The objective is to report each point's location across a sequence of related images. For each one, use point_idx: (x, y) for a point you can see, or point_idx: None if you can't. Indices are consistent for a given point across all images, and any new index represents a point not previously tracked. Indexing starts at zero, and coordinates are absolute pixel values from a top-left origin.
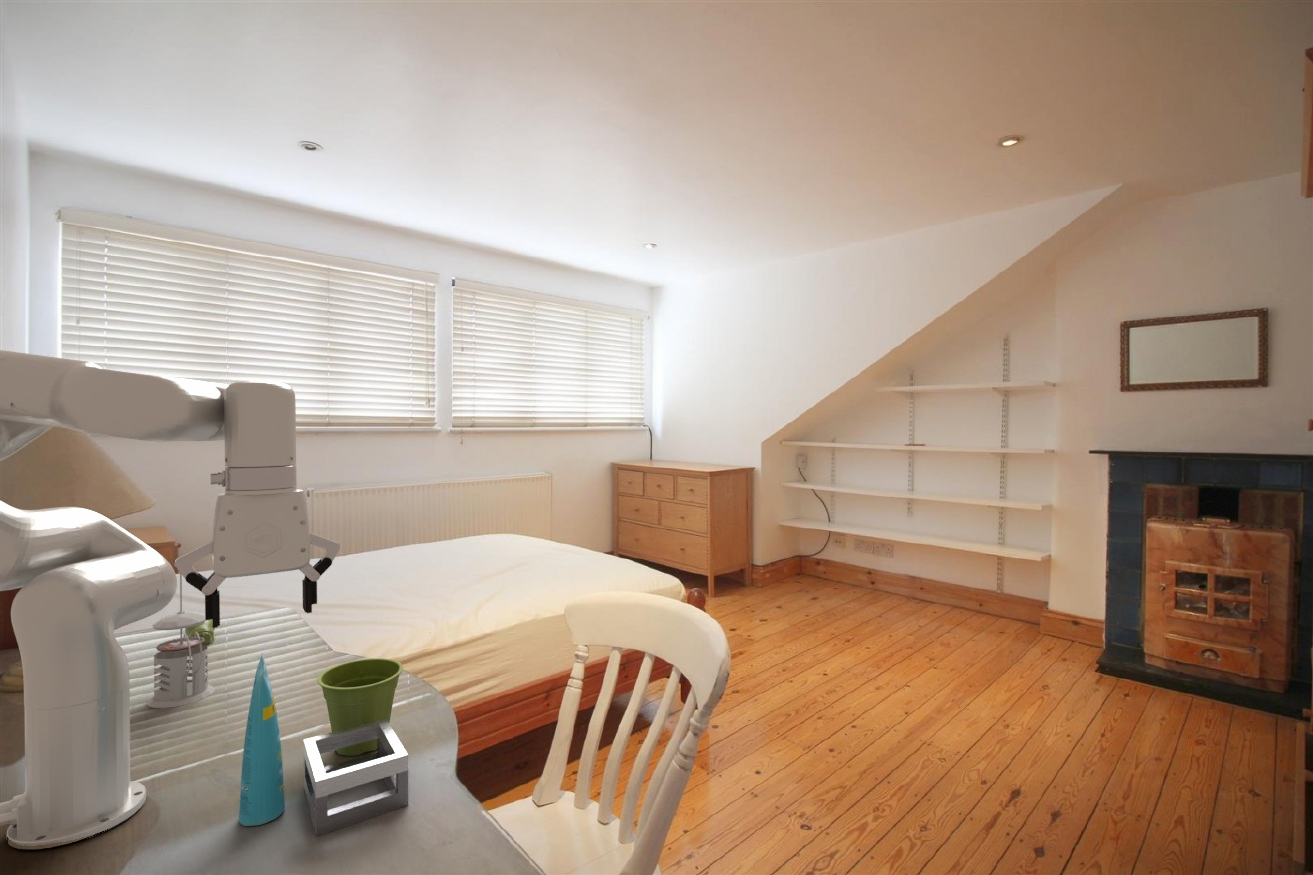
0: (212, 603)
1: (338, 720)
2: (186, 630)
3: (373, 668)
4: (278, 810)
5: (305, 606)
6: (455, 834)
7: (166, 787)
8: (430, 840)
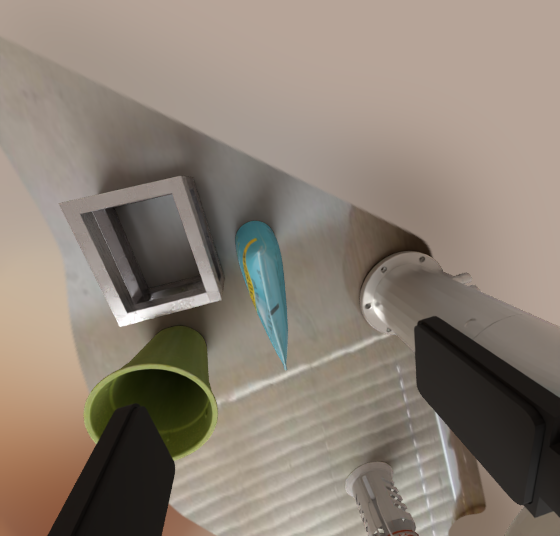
0: (521, 374)
1: (191, 350)
2: None
3: None
4: (238, 230)
5: (132, 425)
6: (21, 108)
7: (347, 321)
8: (54, 110)
